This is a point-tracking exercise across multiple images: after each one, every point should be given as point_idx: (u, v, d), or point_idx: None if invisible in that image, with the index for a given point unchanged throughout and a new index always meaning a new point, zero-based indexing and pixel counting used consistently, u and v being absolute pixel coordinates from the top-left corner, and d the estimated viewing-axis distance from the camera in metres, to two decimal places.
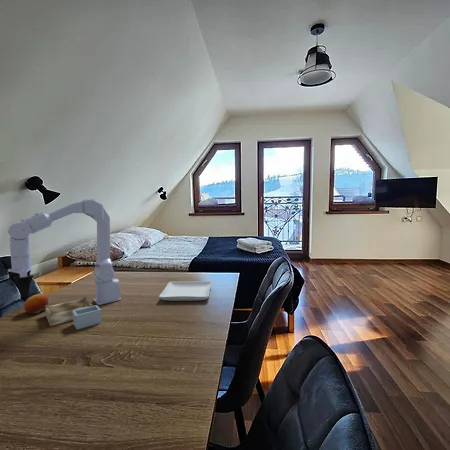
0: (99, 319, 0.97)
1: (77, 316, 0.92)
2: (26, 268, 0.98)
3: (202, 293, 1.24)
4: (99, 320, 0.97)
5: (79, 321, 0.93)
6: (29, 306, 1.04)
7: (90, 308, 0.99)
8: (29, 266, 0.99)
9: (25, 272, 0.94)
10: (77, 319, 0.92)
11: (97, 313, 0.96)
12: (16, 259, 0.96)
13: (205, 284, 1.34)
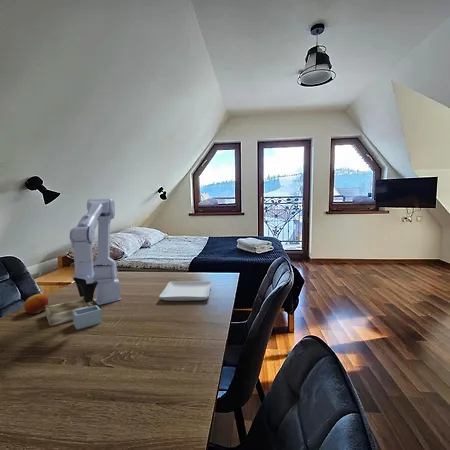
0: (99, 319, 0.97)
1: (77, 316, 0.92)
2: (90, 274, 0.94)
3: (202, 293, 1.24)
4: (99, 320, 0.97)
5: (79, 321, 0.93)
6: (29, 306, 1.04)
7: (90, 308, 0.99)
8: (92, 271, 0.95)
9: (91, 278, 0.90)
10: (77, 319, 0.92)
11: (97, 313, 0.96)
12: (81, 264, 0.92)
13: (205, 284, 1.34)
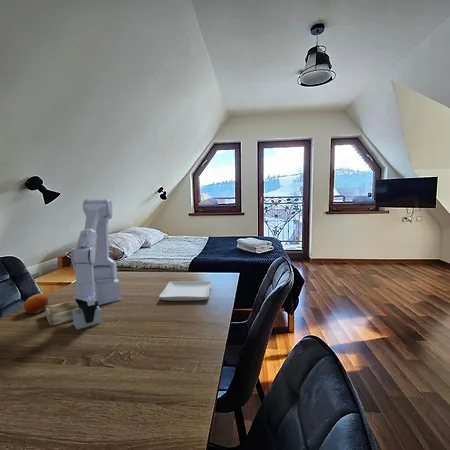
0: (99, 319, 0.97)
1: (77, 316, 0.92)
2: (91, 295, 0.94)
3: (202, 293, 1.24)
4: (99, 320, 0.97)
5: (79, 321, 0.93)
6: (29, 306, 1.04)
7: None
8: (93, 292, 0.96)
9: (93, 300, 0.91)
10: (77, 319, 0.92)
11: (97, 313, 0.96)
12: (82, 286, 0.93)
13: (205, 284, 1.34)
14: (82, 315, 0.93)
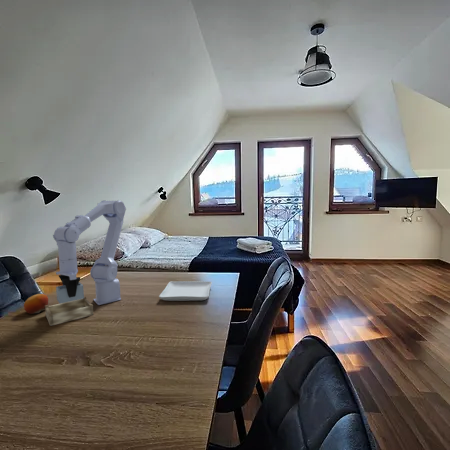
0: (81, 294, 1.02)
1: (60, 290, 0.98)
2: (73, 271, 1.00)
3: (202, 293, 1.24)
4: (81, 295, 1.02)
5: (62, 295, 0.98)
6: (29, 306, 1.04)
7: None
8: (76, 269, 1.01)
9: (75, 275, 0.96)
10: (60, 293, 0.98)
11: (79, 288, 1.02)
12: (65, 262, 0.98)
13: (205, 284, 1.34)
14: (65, 290, 0.99)
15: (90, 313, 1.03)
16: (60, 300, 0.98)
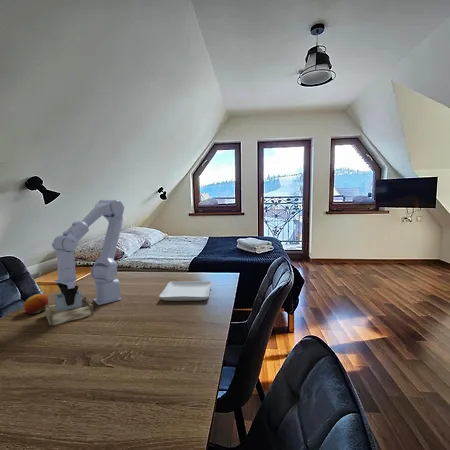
0: (79, 302, 1.03)
1: (58, 299, 0.99)
2: (72, 279, 1.01)
3: (202, 293, 1.24)
4: (79, 303, 1.03)
5: (60, 303, 0.99)
6: (29, 306, 1.04)
7: None
8: (74, 277, 1.02)
9: (73, 283, 0.97)
10: (58, 301, 0.99)
11: (77, 297, 1.03)
12: (63, 271, 0.99)
13: (205, 284, 1.34)
14: (63, 298, 1.00)
15: (90, 313, 1.03)
16: (58, 308, 0.99)
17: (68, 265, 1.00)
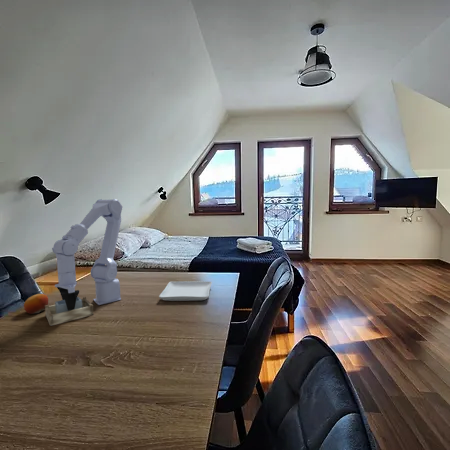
0: None
1: (59, 306, 0.99)
2: (72, 283, 1.01)
3: (202, 293, 1.24)
4: None
5: (60, 311, 1.00)
6: (29, 306, 1.04)
7: None
8: (74, 281, 1.03)
9: (73, 288, 0.97)
10: (59, 309, 0.99)
11: (78, 304, 1.03)
12: (63, 275, 1.00)
13: (205, 284, 1.34)
14: (63, 306, 1.00)
15: (90, 313, 1.03)
16: None
17: (68, 269, 1.00)
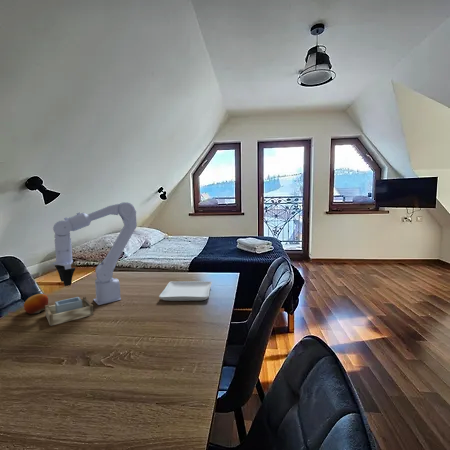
0: None
1: (59, 306, 0.99)
2: (69, 261, 1.09)
3: (202, 293, 1.24)
4: None
5: (60, 311, 1.00)
6: (29, 306, 1.04)
7: (72, 299, 1.06)
8: (71, 259, 1.10)
9: (69, 264, 1.05)
10: (59, 309, 0.99)
11: (78, 304, 1.03)
12: (60, 253, 1.07)
13: (205, 284, 1.34)
14: (63, 306, 1.00)
15: (90, 313, 1.03)
16: None
17: (60, 248, 1.07)
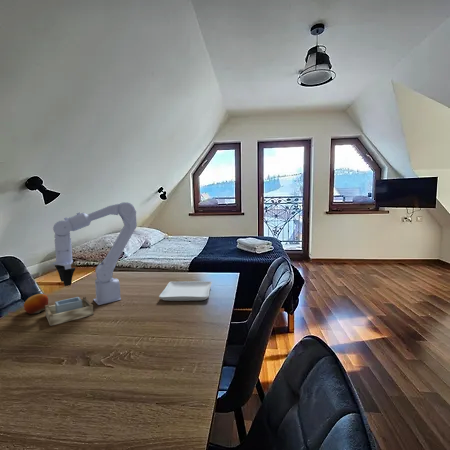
0: None
1: (59, 306, 0.99)
2: (69, 261, 1.09)
3: (202, 293, 1.24)
4: None
5: (60, 311, 1.00)
6: (29, 306, 1.04)
7: (72, 299, 1.06)
8: (71, 259, 1.10)
9: (69, 265, 1.05)
10: (59, 309, 0.99)
11: (78, 304, 1.03)
12: (60, 253, 1.07)
13: (205, 284, 1.34)
14: (63, 306, 1.00)
15: (90, 313, 1.03)
16: None
17: (60, 248, 1.07)
